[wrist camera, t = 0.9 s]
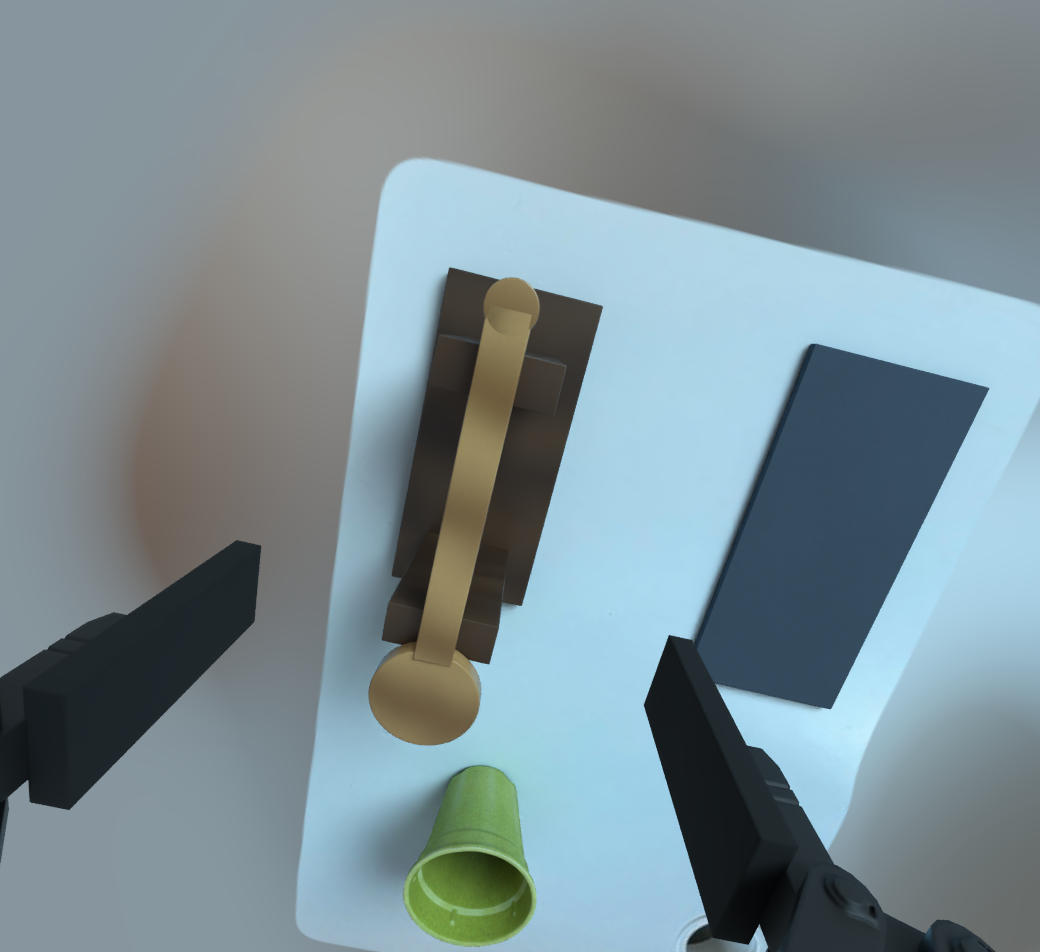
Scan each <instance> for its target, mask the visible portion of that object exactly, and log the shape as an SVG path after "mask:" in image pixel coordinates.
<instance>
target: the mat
mask: <svg viewBox="0 0 1040 952" xmlns="http://www.w3.org/2000/svg"><path fill="white" fill-rule="evenodd" d="M988 390H989V388H987V387H983V386H980V385H976V384H972V383H968V382H964V381H960V380H956V379H952V378H948V377H944V376H940V375H936V374H932V373H929V372H925V371H921V370H917V369H913V368H909V367H905V366H901V365H897V364H893V363H889V362H885V361H882V360H878V359H874V358H870V357H866V356H862V355H858V354H854V353H850V352H846V351H842V350H838V349H834V348H831V347H827V346H823V345H819V344H811V346H810V348H809V351H808V353H807V356H806V359H805V361H804V364H803V366H802V369H801V371H800V374H799V377H798V379H797V382H796V384H795V387H794V390H793V392H792V395H791V397H790V400H789V402H788V405H787V408H786V410H785V413H784V415H783V418H782V421H781V423H780V426H779V428H778V431H777V433H776V436H775V439H774V441H773V444H772V446H771V449H770V451H769V454H768V457H767V459H766V462H765V464H764V467H763V470H762V472H761V475H760V477H759V480H758V482H757V485H756V488H755V490H754V493H753V495H752V498H751V501H750V503H749V506H748V508H747V511H746V513H745V516H744V519H743V521H742V524H741V526H740V529H739V532H738V534H737V537H736V539H735V542H734V544H733V547H732V550H731V552H730V555H729V557H728V560H727V563H726V565H725V568H724V570H723V573H722V575H721V578H720V581H719V583H718V586H717V588H716V591H715V594H714V596H713V599H712V601H711V604H710V606H709V609H708V612H707V614H706V617H705V619H704V622H703V625H702V627H701V630H700V632H699V635H698V637H697V640H696V643H695V647H696V649H697V651H698V653H699V654H700V656H701V658H702V660H703V662H704V664H705V666H706V668H707V670H708V672H709V674H710V676H711V678H712V679H713V681H714V683H717V684H721V685H726V686H730V687H735V688H739V689H743V690H748V691H752V692H757V693H761V694H765V695H770V696H774V697H778V698H783V699H787V700H792V701H796V702H800V703H805V704H809V705H814V706H818V707H822V708H827V709H831V708H832V706H833V704H834V702H835V700H836V698H837V696H838V694H839V692H840V690H841V688H842V686H843V684H844V682H845V680H846V678H847V676H848V674H849V672H850V670H851V668H852V666H853V664H854V662H855V660H856V658H857V656H858V654H859V652H860V649H861V647H862V645H863V643H864V641H865V639H866V637H867V635H868V633H869V631H870V629H871V627H872V625H873V623H874V621H875V619H876V617H877V615H878V613H879V611H880V609H881V607H882V605H883V603H884V601H885V599H886V597H887V595H888V593H889V591H890V589H891V587H892V585H893V583H894V581H895V579H896V577H897V575H898V573H899V570H900V568H901V566H902V564H903V562H904V560H905V558H906V556H907V554H908V552H909V550H910V548H911V546H912V544H913V542H914V540H915V538H916V536H917V534H918V532H919V530H920V528H921V526H922V524H923V522H924V520H925V518H926V516H927V514H928V512H929V510H930V508H931V506H932V504H933V502H934V500H935V498H936V496H937V494H938V491H939V489H940V487H941V485H942V483H943V481H944V479H945V477H946V475H947V473H948V471H949V469H950V467H951V465H952V463H953V461H954V459H955V457H956V455H957V453H958V451H959V449H960V447H961V445H962V443H963V441H964V439H965V437H966V435H967V433H968V431H969V429H970V427H971V425H972V423H973V421H974V419H975V417H976V415H977V412H978V410H979V408H980V406H981V404H982V402H983V400H984V398H985V396H986V394H987V392H988Z"/></svg>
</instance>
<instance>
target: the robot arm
mask: <svg viewBox="0 0 1040 952" xmlns="http://www.w3.org/2000/svg"><path fill="white" fill-rule="evenodd" d="M260 552H261V546H260V545H255V544H251V543H247V542H242V541H238V540H237V541H235V542H233V543H232V544H230V545H229V546H228V547H226V548H225V549H224V550H222V551H220V552H219V553H217V554H216V555H214V556H213V557H212V558H210V559H209V560H207V561H206V562H204V563H203V564H201V565H200V566H198V567H197V568H195V569H194V570H192V571H191V572H190V573H188V574H187V575H185V576H184V577H182V578H181V579H179V580H178V581H176V582H175V583H173V584H172V585H170V586H169V587H168V588H166V589H165V590H163V591H162V592H160V593H159V594H157V595H156V596H154V597H153V598H152V599H150V600H148V601H147V602H146V603H144V604H143V605H141V606H140V607H138V608H137V609H135V610H134V611H132V612H131V613H129V614H128V615H124V614H119V613H114V612H113V613H111V614H108V615H105V616H103V617H100V618H97V619H95V620H92V621H89V622H87V623H85V624H84V625H82V626H80V627H79V628H78V629H76V630H74V631H73V632H71V633H70V634H68V635H67V636H66V637H65V639H63V638H62V639H60V640H59V641H57V642H56V643H54V644H52V645H51V646H49V648H48V649H47V650H43V651H42V652H40V653H38V654H37V655H35V656H33V657H32V658H30V659H29V660H27V661H26V662H24V663H23V664H21V665H19V666H18V667H16V668H15V669H13V670H12V671H10V672H9V673H7V674H5V675H4V676H2V677H1V678H0V862H1V855H2V849H3V843H4V836H5V830H6V823H7V817H8V811H9V807H8V797H9V796H10V795H11V794H12V793H13V792H14V791H15V790H17V789H18V788H19V787H20V786H21V785H22V784H23V783H24V782H26V781H27V780H28V781H29V798H30V802H31V803H36V804H42V805H47V806H52V807H57V808H62V809H67V810H70V809H71V808H72V807H73V806H74V804H76V803H77V801H78V800H79V799H80V798H81V797H82V796H83V795H84V794H85V793H86V792H87V791H88V790H89V789H90V788H91V787H92V786H93V785H94V784H95V783H96V782H97V781H98V780H99V779H100V778H101V777H102V776H103V775H104V774H105V773H106V772H107V771H108V770H109V769H110V768H111V767H112V766H113V765H114V764H115V763H116V762H117V761H118V760H119V759H120V758H121V757H122V756H123V755H124V754H125V753H126V752H127V750H128V749H130V748H131V747H132V746H133V745H134V744H135V743H136V741H137V740H138V739H139V738H140V737H141V736H142V735H143V734H144V733H145V732H146V731H147V730H148V729H149V728H150V727H151V726H152V725H153V724H154V723H155V722H156V721H157V720H158V719H159V718H160V717H161V716H162V715H163V714H164V713H165V712H166V711H167V710H168V709H169V708H170V707H171V706H172V705H173V704H174V703H175V702H176V701H177V700H178V699H179V698H180V697H181V696H182V694H184V693H185V692H186V691H187V690H188V689H189V688H190V687H191V686H192V684H193V683H194V682H196V681H197V679H198V678H199V677H200V676H201V675H202V674H203V673H204V672H205V671H206V670H207V669H208V668H209V667H210V666H211V665H212V664H213V663H214V662H215V661H216V660H217V659H218V658H219V657H220V656H221V655H222V654H223V653H224V652H225V651H226V650H227V649H228V648H229V647H230V646H231V645H232V644H233V643H234V642H235V641H236V640H237V639H238V638H239V637H240V636H241V635H242V634H243V633H244V632H245V631H246V630H247V629H248V628H249V627H250V626H251V625H252V624H253V623H254V620H255V609H256V596H257V586H258V575H259V564H260ZM644 707H645V711H646V714H647V717H648V721H649V724H650V727H651V731H652V734H653V738H654V741H655V744H656V748H657V751H658V754H659V758H660V761H661V765H662V768H663V771H664V775H665V778H666V781H667V785H668V788H669V792H670V795H671V798H672V802H673V805H674V808H675V812H676V815H677V819H678V822H679V825H680V829H681V832H682V835H683V839H684V842H685V846H686V849H687V852H688V856H689V859H690V862H691V866H692V869H693V873H694V876H695V879H696V883H697V886H698V889H699V893H700V896H701V900H702V903H703V906H704V910H705V913H706V916H707V920H708V923H709V927H710V930H711V933H712V937H713V938H717V939H722V940H727V941H732V942H737V943H742V944H747V945H749V943H750V941H751V939H752V937H753V935H754V933H755V931H756V929H757V928H758V926H759V924H760V927H761V930H762V932H763V935H764V937H765V940H766V943H767V945H768V948H767V950H766V952H995V951H994V950H993V949H992V948H991V947H990V946H988V945H987V944H986V943H985V942H984V941H983V940H982V939H981V938H979V937H978V936H976V935H975V934H973V933H972V932H970V931H969V930H968V929H966V928H965V927H963V926H960V925H958V924H955V923H953V922H951V921H949V920H937V921H936V922H934V923H933V924H932V925H931V927H930V928H929V930H928V931H927V933H926V934H925V933H923V932H921V931H919V930H917V929H915V928H913V927H911V926H909V925H907V924H905V923H903V922H901V921H899V920H897V919H895V918H893V917H891V916H889V915H887V914H886V913H884V912H883V911H882V909H881V907H880V906H879V904H878V902H877V900H876V899H875V898H874V896H873V895H872V894H871V893H870V891H869V890H868V889H867V888H866V887H865V886H864V885H863V884H862V883H861V882H860V881H859V880H857V879H856V878H855V877H854V876H853V875H852V874H850V873H849V872H847V871H845V870H843V869H842V868H840V867H839V866H837V865H834V863H833V861H832V860H831V858H830V856H829V854H828V853H827V851H826V849H825V847H824V845H823V844H822V842H821V840H820V838H819V837H818V835H817V833H816V831H815V830H814V828H813V826H812V824H811V823H810V821H809V819H808V817H807V815H806V814H805V812H804V810H803V808H802V807H801V806H799V801H798V800H797V798H796V796H795V794H794V793H793V791H792V790H790V786H789V784H788V782H787V780H786V778H785V777H784V775H783V773H782V771H781V770H780V768H779V767H778V765H777V764H776V763H775V762H774V761H773V760H772V759H771V758H770V757H769V756H768V755H767V754H766V753H765V752H764V750H763V749H761V748H756V747H751V746H747V745H746V743H745V741H744V739H743V737H742V735H741V733H740V732H739V730H738V728H737V726H736V724H735V722H734V720H733V718H732V716H731V714H730V712H729V710H728V708H727V706H726V705H725V703H724V701H723V699H722V697H721V695H720V693H719V691H718V689H717V687H716V685H715V683H714V681H713V679H712V678H711V676H710V674H709V672H708V670H707V668H706V666H705V664H704V662H703V660H702V658H701V656H700V654H699V653H698V651H697V649H696V647H695V645H694V643H693V641H692V640H689V639H685V638H680V637H675V636H671V635H669V636H668V639H667V642H666V645H665V648H664V650H663V653H662V656H661V659H660V662H659V664H658V667H657V670H656V673H655V675H654V678H653V681H652V684H651V687H650V689H649V692H648V695H647V698H646V701H645V703H644Z"/></svg>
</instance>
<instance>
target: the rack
mask: <svg viewBox="0 0 1040 952" xmlns="http://www.w3.org/2000/svg"><path fill="white" fill-rule="evenodd" d="M497 281H499V280H498V279H494V278H490V277H487V276H483V275H479V274H475V273H471V272H467V271H463V270H459V269H455V268H451V267H450V268H449V272H448V277H447V283H446V288H445V293H444V299H443V304H442V309H441V315H440V320H439V325H438V331H437V336H436V341H435V347H434V352H433V357H432V363H431V368H430V373H429V379H428V384H427V389H426V395H425V400H424V405H423V411H422V416H421V421H420V427H419V432H418V437H417V443H416V448H415V453H414V459H413V464H412V469H411V475H410V480H409V485H408V491H407V496H406V501H405V507H404V512H403V517H402V523H401V528H400V534H399V539H398V544H397V550H396V555H395V560H394V566H393V571H392V576H393V577H398V578H402V579H401V581H400V583H399V585H398V586H397V588H396V590H395V592H394V594H393V595H392V597H391V599H390V601H389V603H388V608H387V614H386V619H385V624H384V630H383V635H382V640H383V641H387V642H392V643H396V644H401V645H404V644H407V643H410V642H416V641H417V638H418V633H419V629H420V624H421V619H422V614H423V610H424V605H425V600H426V595H427V591H428V586H429V581H430V576H431V572H432V567H433V562H434V557H435V553H436V548H437V543H438V538H439V534H440V529H441V524H442V520H443V515H444V510H445V505H446V501H447V496H448V491H449V486H450V482H451V477H452V472H453V467H454V463H455V458H456V453H457V448H458V444H459V439H460V434H461V429H462V425H463V420H464V415H465V410H466V406H467V401H468V396H469V392H470V387H471V382H472V377H473V373H474V368H475V363H476V358H477V354H478V349H479V344H480V339H481V335H482V330H483V325H484V320H485V317H484V312H483V303H484V298H485V295H486V293H487V291H488V290H489V288H490V287H491V286H492V285H493V284H494V283H496V282H497ZM533 289H534V288H533ZM534 290H535V292H536V294H537V296H538V299H539V305H540V311H539V316H538V320H537V322H536V324H535V325H534V327H533V328H532V329H531V331H530V335H529V339H528V343H527V348H526V352H525V356H524V360H523V365H522V369H521V373H520V377H519V382H518V386H517V390H516V394H515V398H514V403H513V407H512V411H511V415H510V420H509V424H508V428H507V432H506V437H505V441H504V445H503V449H502V453H501V458H500V462H499V466H498V470H497V475H496V479H495V483H494V487H493V492H492V496H491V500H490V504H489V508H488V513H487V517H486V521H485V525H484V530H483V534H482V538H481V542H480V547H479V551H478V555H477V559H476V563H475V568H474V572H473V576H472V580H471V585H470V589H469V593H468V597H467V602H466V606H465V610H464V614H463V618H462V623H461V627H460V631H459V635H458V640H457V644H456V648H455V650H457V651H459V652H460V653H461V654H463V655H464V656H465V657H466V658H467V659H468V660H471V661H476V662H480V663H485V664H490V660H491V656H492V652H493V648H494V645H495V641H496V637H497V633H498V629H499V623H500V615H501V607H502V602H506V603H511V604H515V605H519V606H522V603H523V600H524V596H525V592H526V589H527V585H528V581H529V578H530V574H531V570H532V566H533V563H534V559H535V555H536V552H537V548H538V544H539V541H540V537H541V533H542V530H543V526H544V522H545V519H546V515H547V511H548V507H549V504H550V500H551V496H552V493H553V489H554V485H555V482H556V478H557V474H558V471H559V467H560V463H561V460H562V456H563V452H564V448H565V445H566V441H567V437H568V434H569V430H570V426H571V423H572V419H573V415H574V412H575V408H576V404H577V401H578V397H579V393H580V389H581V386H582V382H583V378H584V375H585V371H586V367H587V364H588V360H589V356H590V353H591V349H592V345H593V342H594V338H595V334H596V330H597V327H598V323H599V319H600V316H601V312H602V308H603V306H601V305H597V304H593V303H589V302H585V301H581V300H577V299H573V298H569V297H565V296H561V295H557V294H554V293H550V292H546V291H542V290H538V289H534Z"/></svg>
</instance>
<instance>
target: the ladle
mask: <svg viewBox="0 0 1040 952" xmlns="http://www.w3.org/2000/svg"><path fill="white" fill-rule="evenodd" d="M539 311H540V305H539V299H538V296H537V294H536V292H535V290H534V289H533V288H532V286H531V285H529V284H528V283H527V282H525V281H524V280H522V279H519V278H511V277H510V278H504V279H501V280H499V281H497V282H496V283H494V284H493V285H492V286H491V287H490V288H489V290H488V291H487V293H486V295H485V298H484V303H483V312H484V317H485V320H484V325H483V330H482V335H481V339H480V344H479V349H478V354H477V358H476V363H475V368H474V373H473V377H472V382H471V387H470V392H469V396H468V401H467V406H466V410H465V415H464V420H463V425H462V429H461V434H460V439H459V444H458V448H457V453H456V458H455V463H454V467H453V472H452V477H451V482H450V486H449V491H448V496H447V501H446V505H445V510H444V515H443V520H442V524H441V529H440V534H439V538H438V543H437V548H436V553H435V557H434V562H433V567H432V572H431V576H430V581H429V586H428V591H427V595H426V600H425V605H424V610H423V614H422V619H421V624H420V629H419V633H418V638H417V641H416V642H410V643H407V644H404V645H401V646H399V647H397V648H395V649H394V650H392V651H390V652H389V653H388V654H387V655H386V656H385V657H384V658H383V659H382V660H381V662H380V663H379V665H378V667H377V669H376V671H375V673H374V675H373V677H372V680H371V682H370V686H369V703H370V707H371V710H372V712H373V714H374V716H375V718H376V719H377V721H378V722H379V724H380V725H381V726H382V727H383V728H384V729H385V730H387V731H388V732H389V733H390V734H392V735H393V736H395V737H397V738H399V739H401V740H403V741H406V742H409V743H412V744H417V745H439V744H444V743H447V742H450V741H452V740H454V739H456V738H458V737H460V736H461V735H462V734H464V733H465V732H466V731H467V730H468V729H469V728H470V727H471V725H472V724H473V723H474V721H475V719H476V717H477V714H478V711H479V706H480V699H481V682H480V679H479V676H478V674H477V671H476V669H475V668H474V666H473V665H472V663H471V662H470V661H469V660H468V659H467V658H466V657H465V656H464V655H463V654H461V653H460V652H459V651H457V650H455V648H456V644H457V640H458V635H459V631H460V627H461V623H462V618H463V614H464V610H465V606H466V602H467V597H468V593H469V589H470V585H471V580H472V576H473V572H474V568H475V563H476V559H477V555H478V551H479V547H480V542H481V538H482V534H483V530H484V525H485V521H486V517H487V513H488V508H489V504H490V500H491V496H492V492H493V487H494V483H495V479H496V475H497V470H498V466H499V462H500V458H501V453H502V449H503V445H504V441H505V437H506V432H507V428H508V424H509V420H510V415H511V411H512V407H513V403H514V398H515V394H516V390H517V386H518V382H519V377H520V373H521V369H522V365H523V360H524V356H525V352H526V348H527V343H528V339H529V335H530V331H531V329H532V328H533V327H534V325H535V324H536V322H537V320H538V316H539Z"/></svg>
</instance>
